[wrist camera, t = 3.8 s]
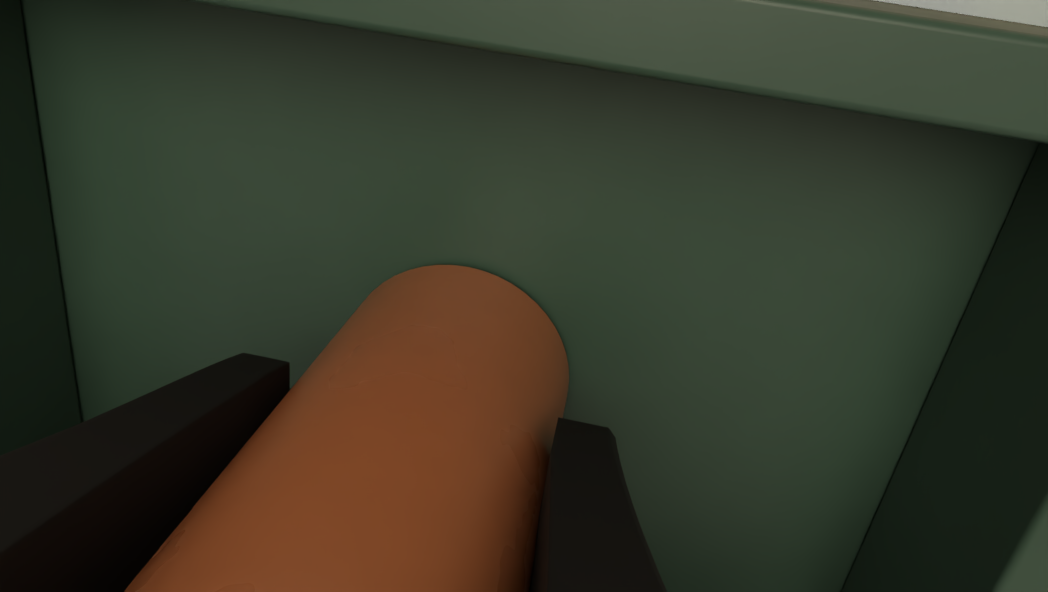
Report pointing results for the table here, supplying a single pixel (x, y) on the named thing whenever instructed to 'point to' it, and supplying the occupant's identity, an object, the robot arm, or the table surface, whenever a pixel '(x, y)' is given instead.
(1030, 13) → the table surface
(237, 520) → the tube
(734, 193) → the basket
